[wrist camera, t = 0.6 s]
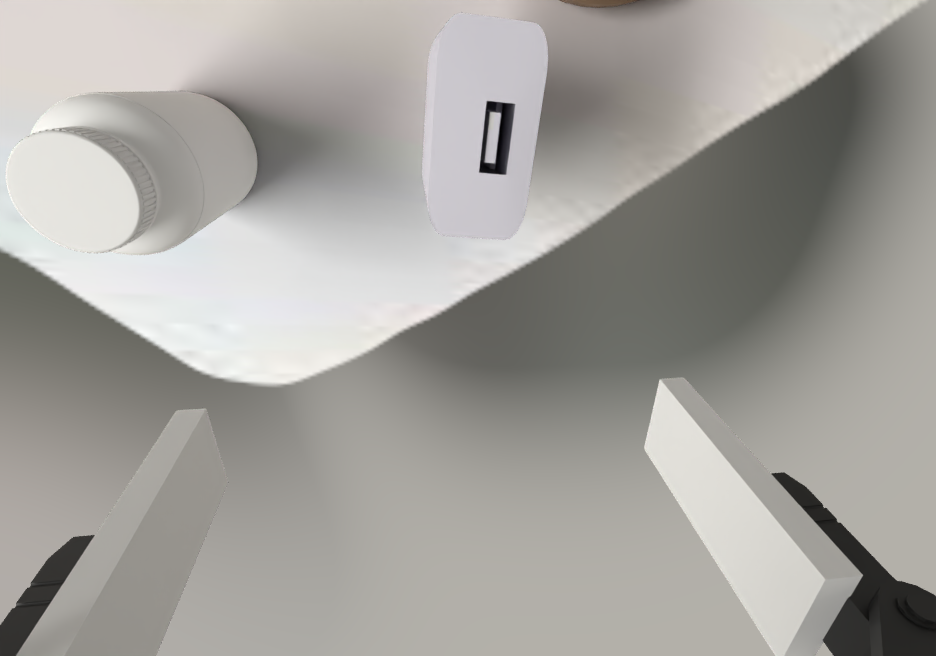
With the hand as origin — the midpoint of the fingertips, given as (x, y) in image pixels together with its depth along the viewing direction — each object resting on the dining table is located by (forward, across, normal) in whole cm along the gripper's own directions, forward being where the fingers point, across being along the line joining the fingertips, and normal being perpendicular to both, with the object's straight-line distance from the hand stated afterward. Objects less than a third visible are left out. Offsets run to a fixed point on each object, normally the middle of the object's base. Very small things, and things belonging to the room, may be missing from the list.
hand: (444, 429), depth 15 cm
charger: (+27, +3, +6) cm, 28 cm away
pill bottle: (+27, -15, +4) cm, 31 cm away
